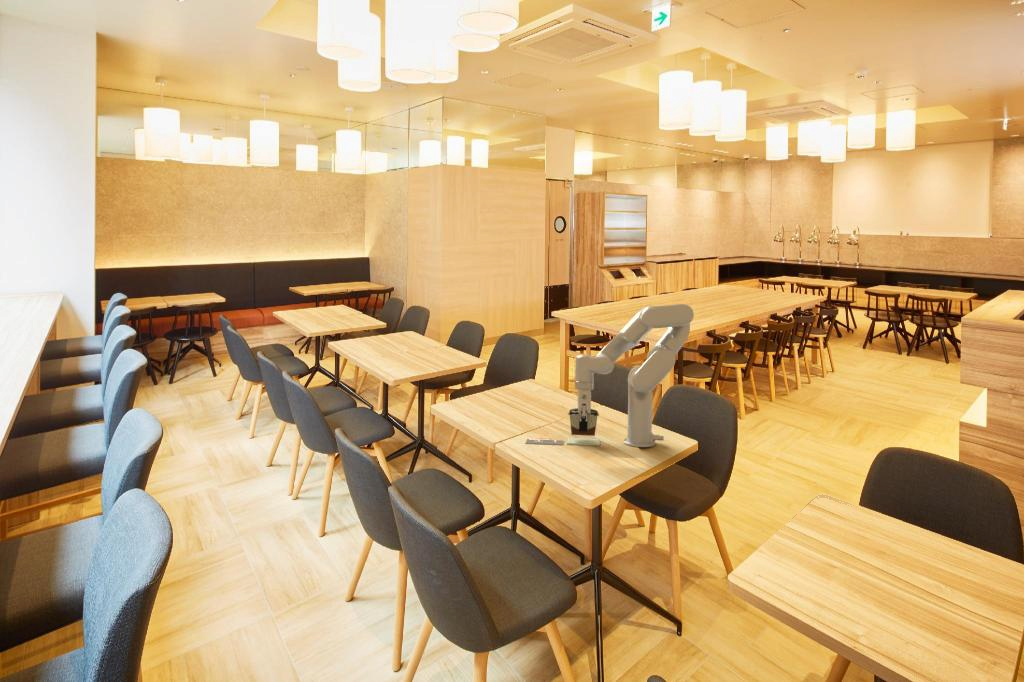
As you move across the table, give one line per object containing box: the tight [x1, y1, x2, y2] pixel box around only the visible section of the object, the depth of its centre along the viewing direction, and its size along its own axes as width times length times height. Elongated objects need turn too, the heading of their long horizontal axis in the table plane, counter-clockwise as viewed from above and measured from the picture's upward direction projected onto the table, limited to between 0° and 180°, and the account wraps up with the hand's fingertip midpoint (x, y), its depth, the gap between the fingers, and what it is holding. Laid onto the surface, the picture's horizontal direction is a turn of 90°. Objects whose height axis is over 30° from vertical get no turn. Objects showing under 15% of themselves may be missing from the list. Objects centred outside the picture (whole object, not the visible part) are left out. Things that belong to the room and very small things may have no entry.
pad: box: [566, 437, 601, 447], centre depth 225 cm, size 13×11×1 cm
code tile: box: [525, 438, 564, 446], centre depth 225 cm, size 15×11×1 cm
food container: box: [567, 407, 600, 437], centre depth 225 cm, size 12×6×10 cm, turn 84°
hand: (582, 429), depth 224 cm, fingers closed on food container, 5 cm apart
